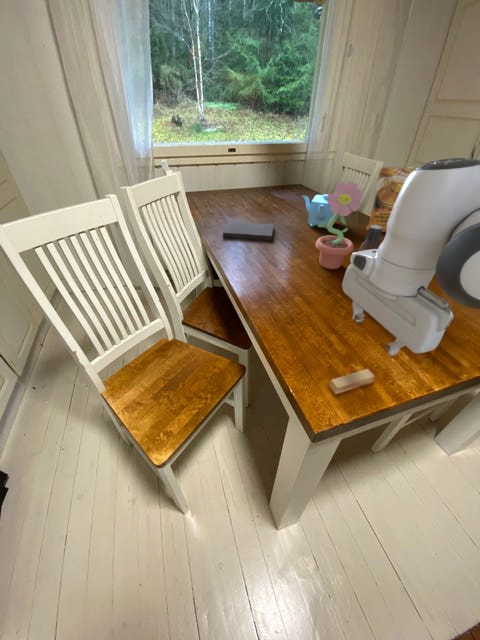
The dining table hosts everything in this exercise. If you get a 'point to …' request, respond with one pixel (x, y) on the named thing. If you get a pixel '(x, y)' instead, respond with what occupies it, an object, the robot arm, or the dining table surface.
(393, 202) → the pancake mix bag
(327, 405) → the dining table surface
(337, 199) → the decorative flower
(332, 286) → the dining table surface
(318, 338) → the dining table surface
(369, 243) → the sauce bottle
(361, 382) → the beige rectangular block
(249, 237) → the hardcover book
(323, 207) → the teakettle
